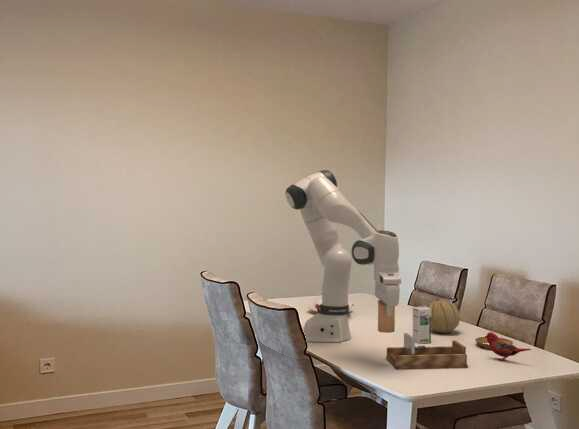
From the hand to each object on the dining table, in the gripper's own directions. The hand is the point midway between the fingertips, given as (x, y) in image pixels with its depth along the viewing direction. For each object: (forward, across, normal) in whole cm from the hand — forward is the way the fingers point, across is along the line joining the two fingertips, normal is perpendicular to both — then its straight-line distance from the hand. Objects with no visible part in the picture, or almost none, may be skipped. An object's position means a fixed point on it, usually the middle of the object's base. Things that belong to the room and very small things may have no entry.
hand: (385, 314), depth 228 cm
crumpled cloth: (+19, -93, -3) cm, 95 cm away
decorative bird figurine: (+19, 0, +46) cm, 50 cm away
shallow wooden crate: (+18, 0, +15) cm, 24 cm away
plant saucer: (+19, -23, +51) cm, 59 cm away
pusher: (+17, 0, +11) cm, 21 cm away
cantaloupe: (+19, -48, +39) cm, 65 cm away
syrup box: (+19, -32, +24) cm, 44 cm away
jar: (+6, 0, 0) cm, 6 cm away
